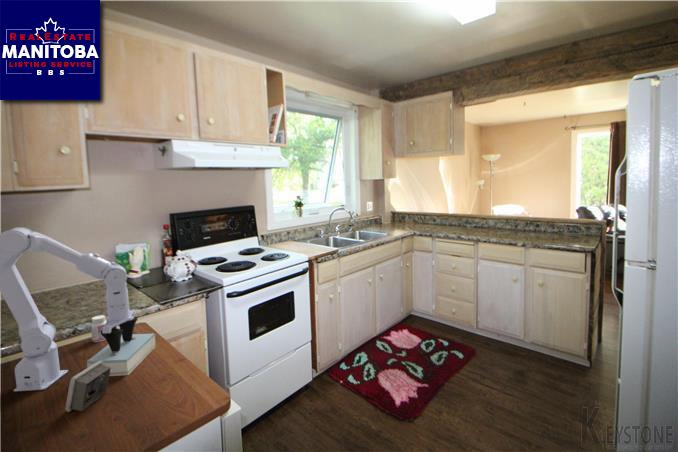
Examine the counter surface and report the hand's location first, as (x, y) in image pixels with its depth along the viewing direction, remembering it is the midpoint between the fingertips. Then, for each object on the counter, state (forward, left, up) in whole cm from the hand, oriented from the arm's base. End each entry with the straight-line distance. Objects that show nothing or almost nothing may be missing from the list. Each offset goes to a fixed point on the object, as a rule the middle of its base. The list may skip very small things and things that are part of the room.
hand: (121, 345), depth 108 cm
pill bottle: (+18, +17, -5) cm, 25 cm away
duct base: (0, -1, -5) cm, 5 cm away
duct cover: (0, -1, -1) cm, 1 cm away
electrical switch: (-21, -3, -5) cm, 22 cm away
